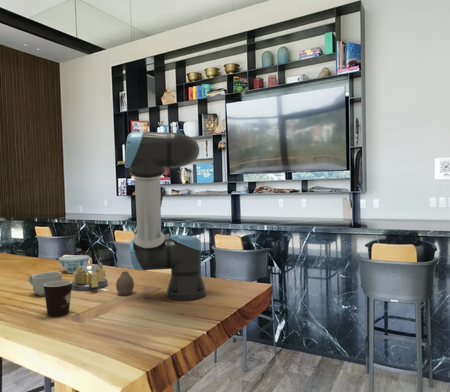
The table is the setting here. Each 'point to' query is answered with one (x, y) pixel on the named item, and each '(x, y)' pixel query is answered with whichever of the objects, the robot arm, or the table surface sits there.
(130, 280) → the vase
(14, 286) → the table surface
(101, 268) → the pocket watch
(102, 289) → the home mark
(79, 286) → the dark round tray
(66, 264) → the chinaware
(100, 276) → the tan piece
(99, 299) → the table surface
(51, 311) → the coffee mug
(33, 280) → the teacup
